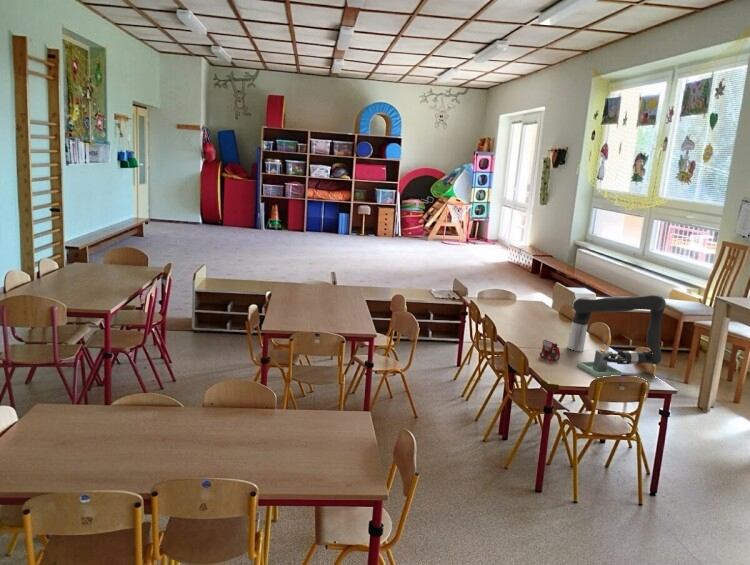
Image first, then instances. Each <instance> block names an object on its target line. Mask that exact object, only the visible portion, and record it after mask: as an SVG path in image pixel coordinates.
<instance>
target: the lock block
mask: <svg viewBox="0 0 750 565" xmlns="http://www.w3.org/2000/svg"><path fill="white" fill-rule="evenodd" d="M608 352H609V351H606V350H605V349H598V350H597V349H596V350H595V354H594V361H593V362H594V364H593V369H594V370H595V371H597V372H606V368H607V365H608V363H609V362H607V360H608V357H609V358H610V356H609V353H608Z"/></svg>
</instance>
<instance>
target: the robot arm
mask: <svg viewBox="0 0 750 565" xmlns="http://www.w3.org/2000/svg"><path fill="white" fill-rule="evenodd" d="M666 303H667V302H666V300H665V298H664V297H663V296H661V295H659V294H650V295H641V296H626V295H625V296H624V295H623V296H622V295H620V296H607V297H602V298H597V299H590V298H588V297H586V296H583V297H579V298H577V299H576V300H574V302H573V305H572V306H573V310H574V311H575V314H574V315H573V318H572V322H571V326H570V327H571V328H570V332H569V336H568V342H567V348H568V349H569V350H570V349H571V351H573V350H574V352H583V351H584V348H585V343H586V339H587V338H586V337H587V331H588V325H589V322H590V318H591V313H595V312H603V313H605V312H607V313H623V312H629V311H634V310H635V311H636V310H644V311H645V310H646V311H647V310H648V311H650V319H649V324H648V327H647V332H646V340H645V343H646V346H647V347H648V348H650V350H644V351H643V350H642V351H633V350H619V351H618V352H617V353H616V352H613V351H607V352H608V353H609V357H608V360H607V362H608V363H614V364H617V365H641V364H651V365H659V364H660V363H661V361H662V356H663V355H662V350H661V345H660V344H661V343H660V341H661V330H662V321H663V316H664V313H665V307H666ZM652 353H653V354H652Z"/></svg>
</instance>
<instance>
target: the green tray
mask: <svg viewBox="0 0 750 565" xmlns="http://www.w3.org/2000/svg"><path fill="white" fill-rule="evenodd" d="M593 364H594V361H577V365H576V367H577V369H578V368H579V369H580V370H582V371H584V372H586V374H589V375H590V374H591V375H590V376H592V377H594V378H596V379H598V378H597V377H603V376H611V375H623V372H622V371H620V370H618V369H617V368H614V367H612V366H611V365H609V364H607V368H606V372H597V371H595V370H594V369H593Z"/></svg>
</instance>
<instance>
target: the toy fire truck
mask: <svg viewBox="0 0 750 565" xmlns="http://www.w3.org/2000/svg"><path fill="white" fill-rule="evenodd" d="M560 352H561V351H560V347H559V346H558V343H556V342H555V343H554V342H552V341H549V340H547V339H543V340H542V348H541V352H539V357H540V358H541V359H546V360H547V361H548V362H553V361H559V360H560V358H561V353H560Z"/></svg>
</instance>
